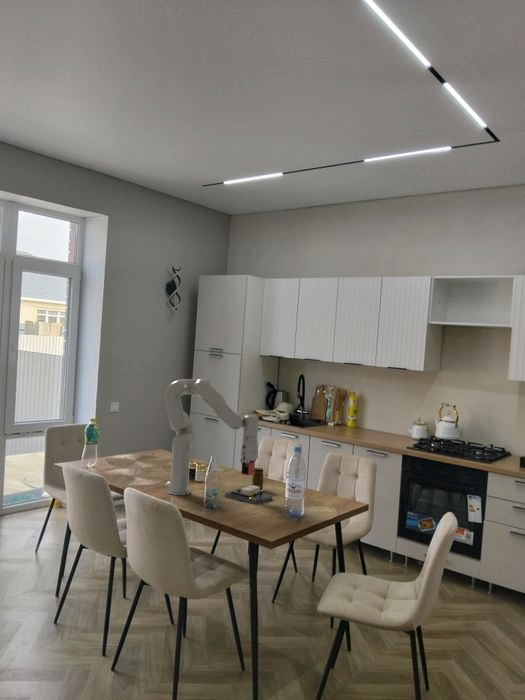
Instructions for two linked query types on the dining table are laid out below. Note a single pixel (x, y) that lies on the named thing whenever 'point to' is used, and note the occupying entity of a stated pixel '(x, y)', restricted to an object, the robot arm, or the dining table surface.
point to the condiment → (258, 478)
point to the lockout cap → (250, 468)
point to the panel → (248, 497)
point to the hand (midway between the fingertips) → (247, 472)
